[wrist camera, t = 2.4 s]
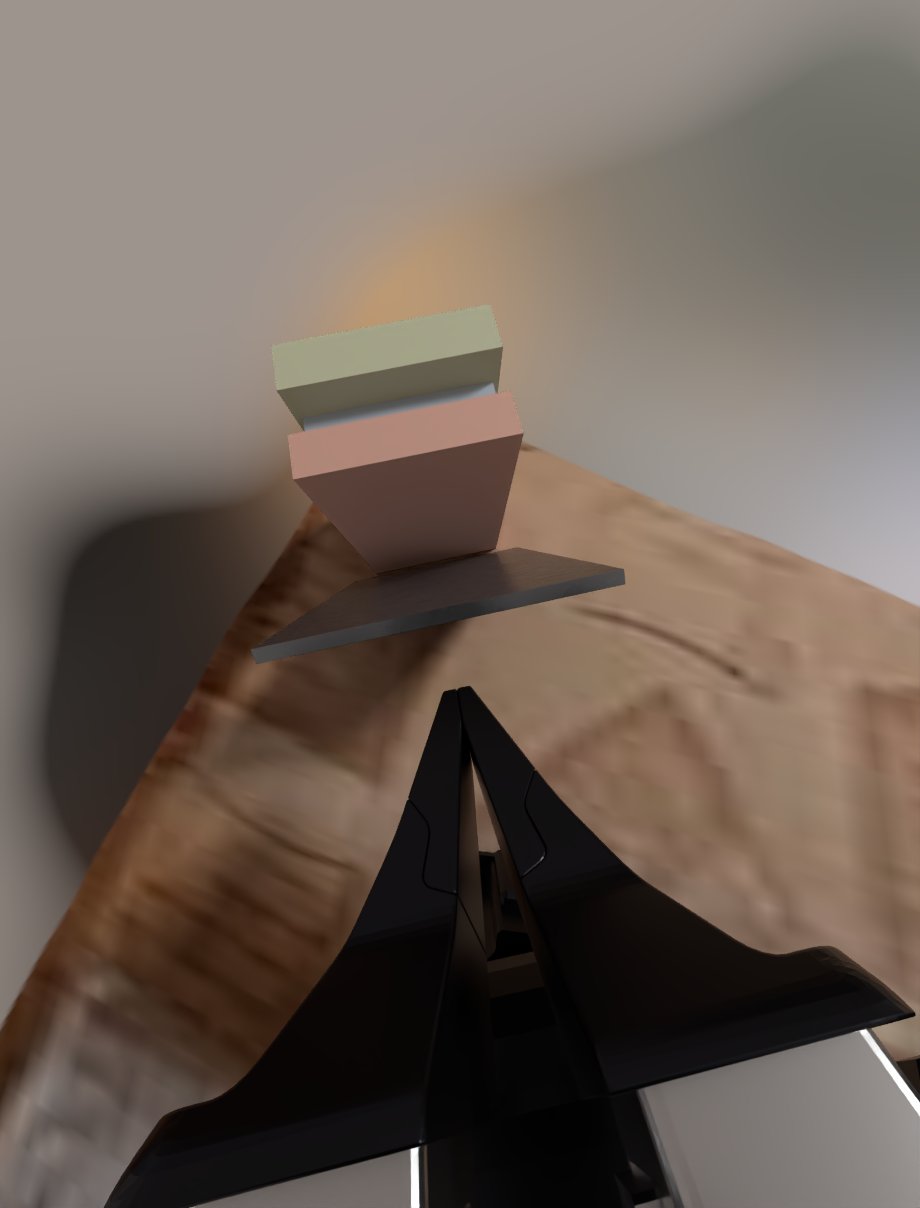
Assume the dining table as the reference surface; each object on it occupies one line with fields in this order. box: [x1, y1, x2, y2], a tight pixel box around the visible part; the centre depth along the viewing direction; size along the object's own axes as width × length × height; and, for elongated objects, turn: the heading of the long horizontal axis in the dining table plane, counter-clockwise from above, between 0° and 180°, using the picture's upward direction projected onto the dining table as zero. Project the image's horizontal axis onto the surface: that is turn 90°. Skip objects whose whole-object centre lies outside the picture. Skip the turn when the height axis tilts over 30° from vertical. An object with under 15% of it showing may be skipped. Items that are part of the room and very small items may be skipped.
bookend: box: [251, 548, 625, 664], centre depth 17 cm, size 1×12×14 cm, turn 102°
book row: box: [271, 304, 523, 573], centre depth 19 cm, size 6×9×12 cm, turn 102°
